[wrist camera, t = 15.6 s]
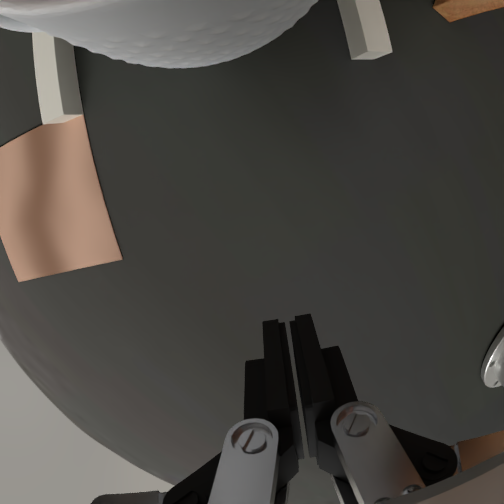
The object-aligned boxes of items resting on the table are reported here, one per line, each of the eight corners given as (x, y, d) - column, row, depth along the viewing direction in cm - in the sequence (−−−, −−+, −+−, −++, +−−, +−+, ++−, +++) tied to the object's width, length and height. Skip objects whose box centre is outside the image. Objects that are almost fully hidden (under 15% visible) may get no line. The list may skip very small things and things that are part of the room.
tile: (82, 107, 15) (81, 107, 15) (122, 258, 19) (122, 259, 19) (-20, 159, 15) (-21, 160, 15) (19, 281, 19) (18, 282, 19)
